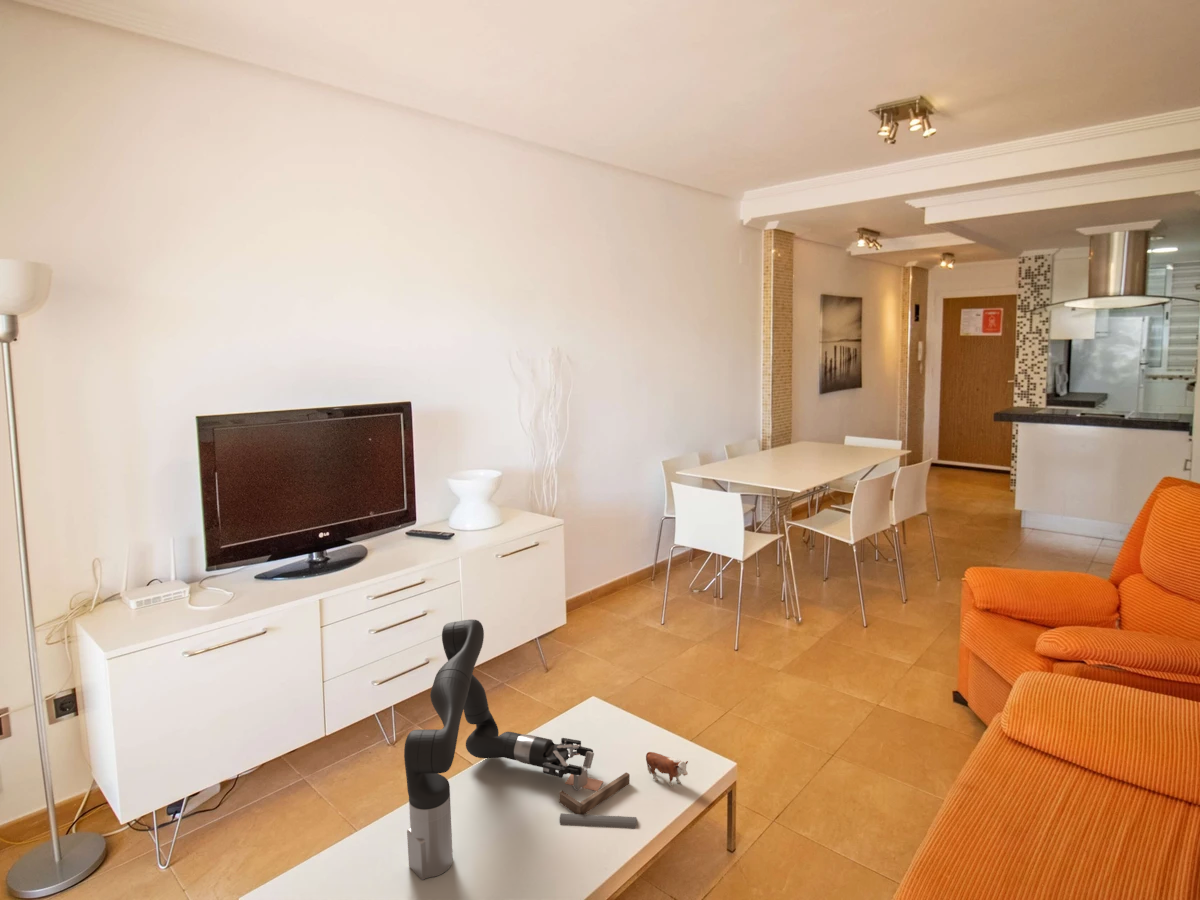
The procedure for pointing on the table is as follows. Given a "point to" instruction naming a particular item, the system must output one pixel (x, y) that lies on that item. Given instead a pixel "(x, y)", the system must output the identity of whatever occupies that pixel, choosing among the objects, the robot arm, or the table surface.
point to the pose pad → (591, 783)
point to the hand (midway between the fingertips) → (587, 762)
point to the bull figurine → (665, 766)
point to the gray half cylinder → (597, 821)
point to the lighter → (583, 771)
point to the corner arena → (594, 796)
